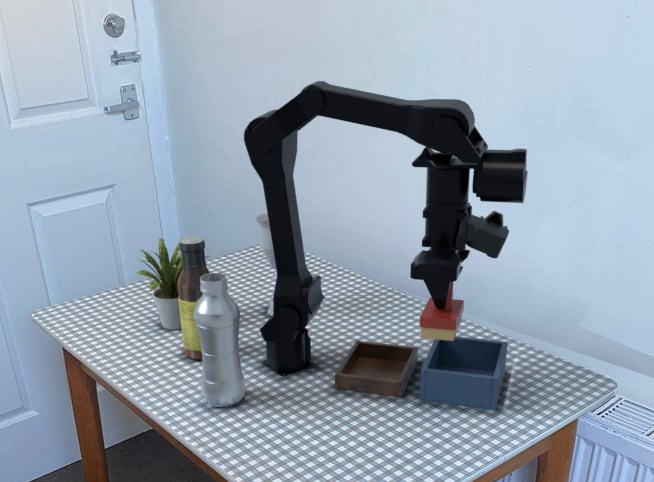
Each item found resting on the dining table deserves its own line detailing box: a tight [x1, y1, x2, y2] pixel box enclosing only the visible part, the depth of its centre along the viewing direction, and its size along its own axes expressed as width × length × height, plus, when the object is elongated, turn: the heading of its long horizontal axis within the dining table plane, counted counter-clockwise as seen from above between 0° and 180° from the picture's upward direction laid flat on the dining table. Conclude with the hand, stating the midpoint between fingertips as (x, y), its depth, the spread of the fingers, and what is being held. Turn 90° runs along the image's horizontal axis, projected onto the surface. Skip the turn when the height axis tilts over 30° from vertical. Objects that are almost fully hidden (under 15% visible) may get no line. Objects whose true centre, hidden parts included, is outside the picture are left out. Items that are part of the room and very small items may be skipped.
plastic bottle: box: [194, 272, 247, 408], centre depth 115 cm, size 6×7×20 cm
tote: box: [419, 335, 509, 411], centre depth 120 cm, size 11×13×6 cm
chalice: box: [255, 212, 277, 317], centre depth 145 cm, size 7×7×18 cm
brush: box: [419, 282, 465, 341], centre depth 116 cm, size 8×5×7 cm
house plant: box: [136, 237, 211, 330], centre depth 141 cm, size 14×14×16 cm
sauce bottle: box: [177, 236, 210, 361], centre depth 130 cm, size 6×6×20 cm
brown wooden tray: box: [334, 340, 419, 399], centre depth 124 cm, size 10×12×3 cm
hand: (442, 305), depth 116 cm, fingers closed on brush, 3 cm apart
